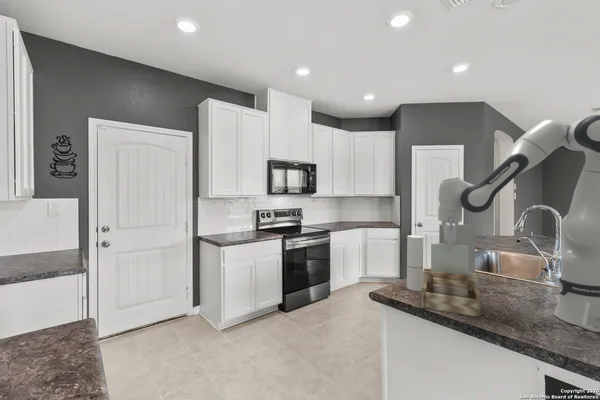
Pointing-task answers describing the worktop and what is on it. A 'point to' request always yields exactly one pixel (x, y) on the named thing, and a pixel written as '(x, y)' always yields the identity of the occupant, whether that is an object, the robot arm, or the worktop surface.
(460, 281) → the offcut boards
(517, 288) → the worktop surface
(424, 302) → the box
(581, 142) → the robot arm
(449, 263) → the grey green flat block
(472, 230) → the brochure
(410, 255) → the cylindrical container
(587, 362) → the worktop surface
